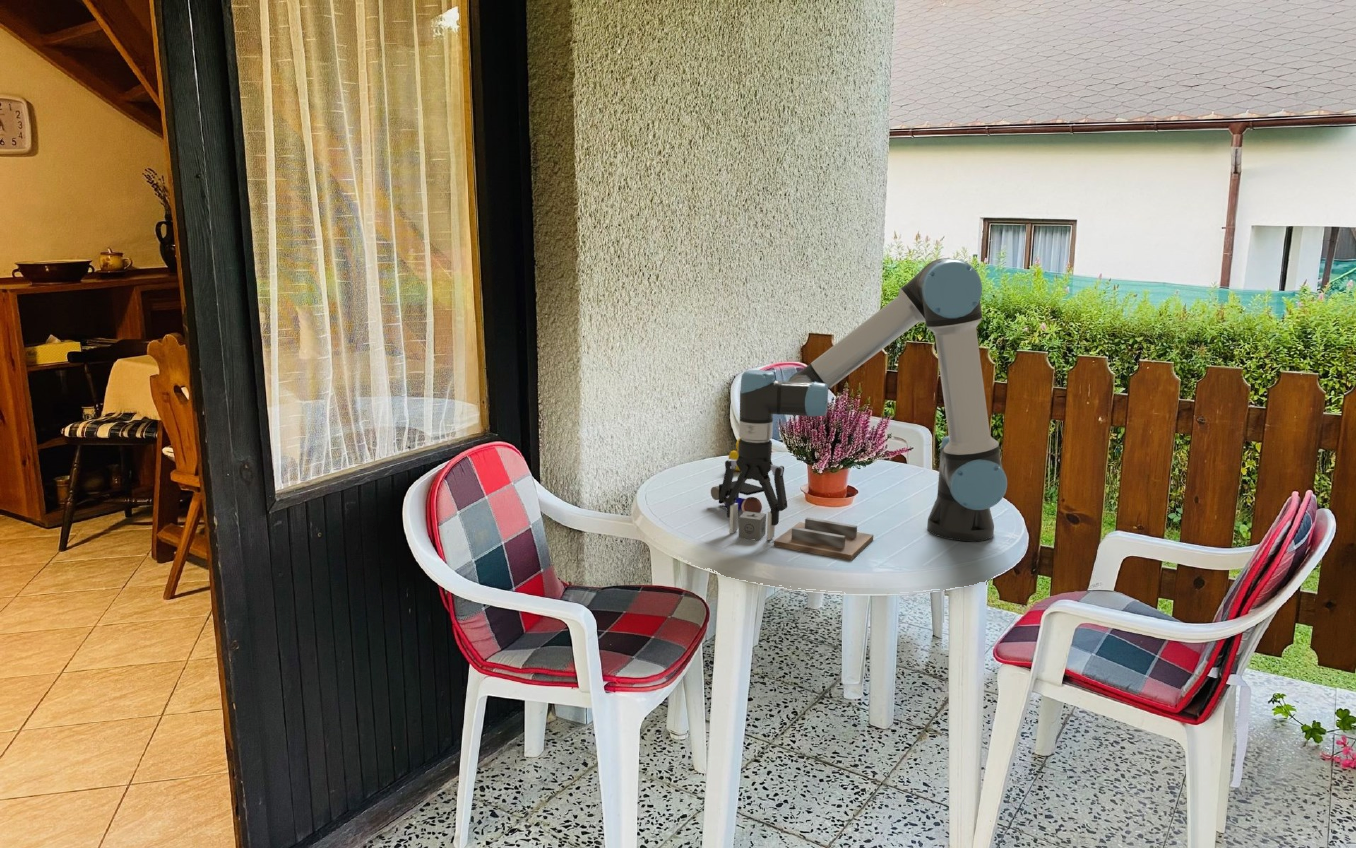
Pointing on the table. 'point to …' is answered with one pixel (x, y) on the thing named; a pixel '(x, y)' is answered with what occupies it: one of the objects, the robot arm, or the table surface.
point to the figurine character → (743, 504)
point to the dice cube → (752, 525)
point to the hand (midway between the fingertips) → (751, 534)
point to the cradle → (825, 539)
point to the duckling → (735, 454)
